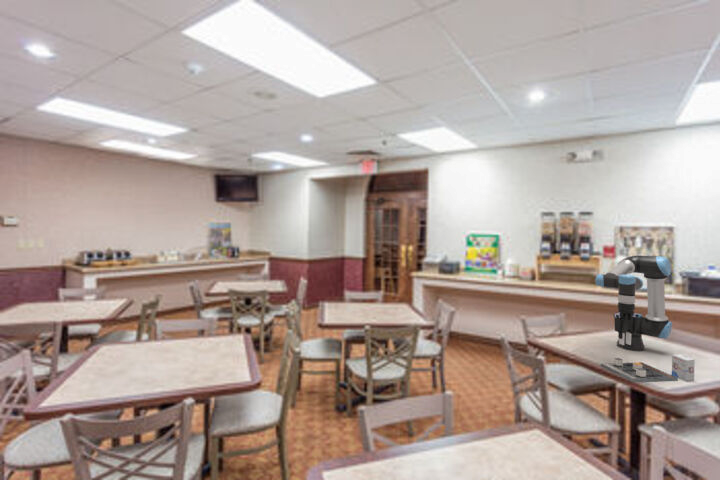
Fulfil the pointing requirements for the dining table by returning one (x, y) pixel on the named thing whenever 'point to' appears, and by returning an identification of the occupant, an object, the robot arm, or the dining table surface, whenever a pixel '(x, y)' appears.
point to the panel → (630, 374)
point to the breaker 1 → (618, 362)
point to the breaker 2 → (641, 372)
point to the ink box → (683, 367)
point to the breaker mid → (637, 365)
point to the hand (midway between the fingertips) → (625, 344)
